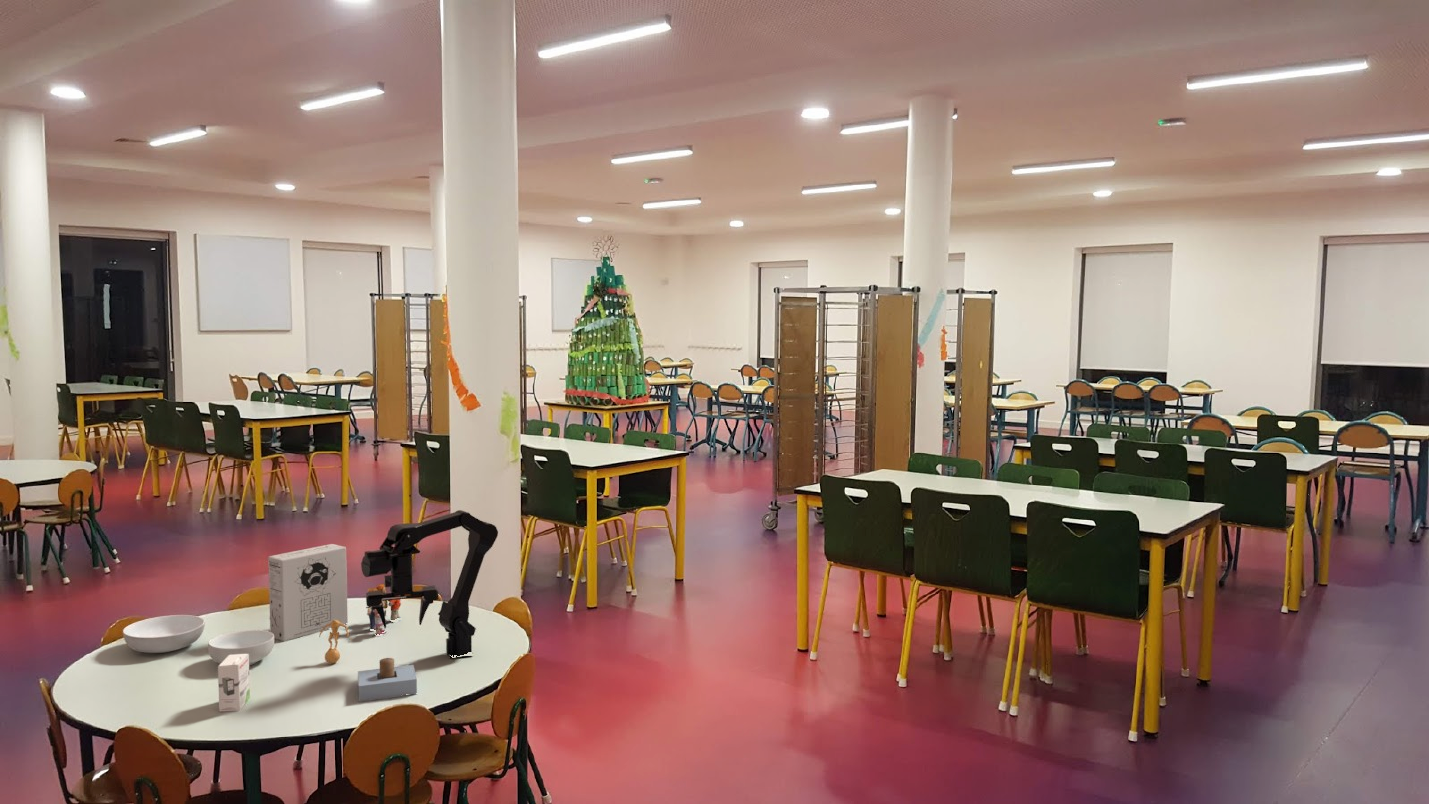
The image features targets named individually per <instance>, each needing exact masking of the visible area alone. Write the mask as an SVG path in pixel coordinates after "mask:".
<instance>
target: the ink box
mask: <svg viewBox="0 0 1429 804" xmlns="http://www.w3.org/2000/svg"><path fill="white" fill-rule="evenodd" d="M217 676H218V677H217V679H218V682H217V683H218V709H219V712H237V711H238V712H239V711H241V709H242V708H243V707H244V706H245V705H246V703H248V700H249V699H250V697H251V695H250V692H251V691H250V666H249V654H235V655H229V656H228V657H227V658H226V659H225V660H224V661H223V662H222V663H221V664H220V663H219V665H218V666H217Z"/></svg>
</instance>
